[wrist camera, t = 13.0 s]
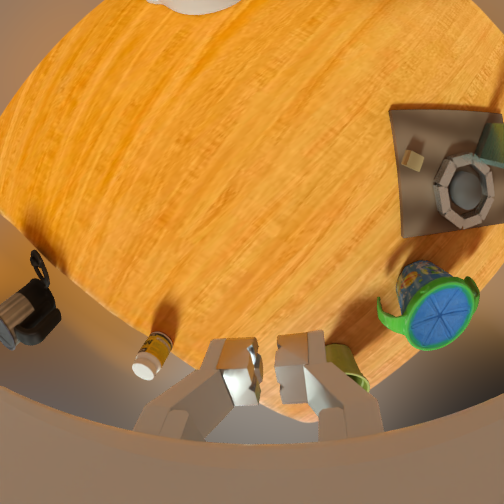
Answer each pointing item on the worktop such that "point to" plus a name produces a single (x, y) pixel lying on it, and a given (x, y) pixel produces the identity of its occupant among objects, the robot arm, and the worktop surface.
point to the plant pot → (346, 363)
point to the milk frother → (29, 310)
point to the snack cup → (431, 305)
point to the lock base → (429, 162)
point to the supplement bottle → (152, 355)
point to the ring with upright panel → (487, 152)
